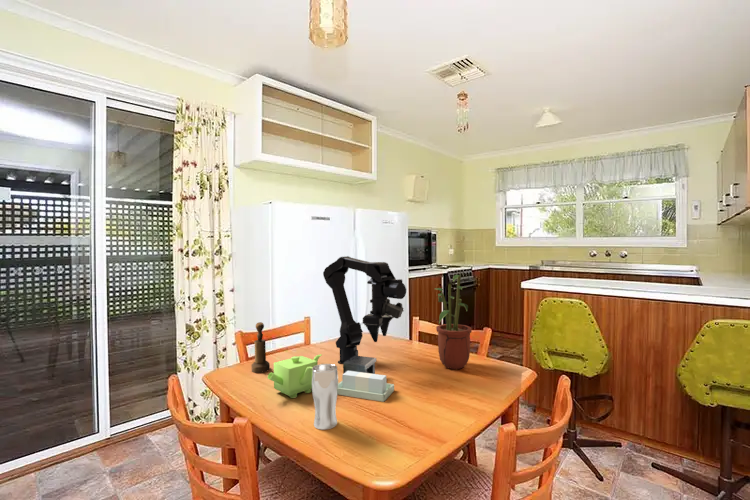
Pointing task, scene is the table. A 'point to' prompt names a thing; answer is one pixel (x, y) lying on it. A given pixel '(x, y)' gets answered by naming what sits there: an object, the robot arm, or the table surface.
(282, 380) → the kettle
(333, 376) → the beer glass
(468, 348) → the potted plant
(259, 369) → the dark turned peg
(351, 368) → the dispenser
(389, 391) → the dish
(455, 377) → the table surface
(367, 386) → the white square column
